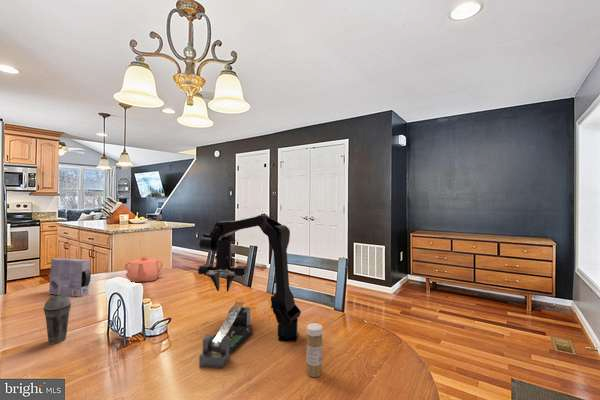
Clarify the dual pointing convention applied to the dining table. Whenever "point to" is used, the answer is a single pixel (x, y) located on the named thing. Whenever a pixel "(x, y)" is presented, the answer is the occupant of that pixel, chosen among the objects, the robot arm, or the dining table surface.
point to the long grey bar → (227, 324)
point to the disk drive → (235, 337)
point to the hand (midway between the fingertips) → (223, 291)
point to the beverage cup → (57, 316)
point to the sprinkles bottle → (314, 349)
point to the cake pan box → (70, 277)
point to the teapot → (143, 269)
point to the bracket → (222, 343)
